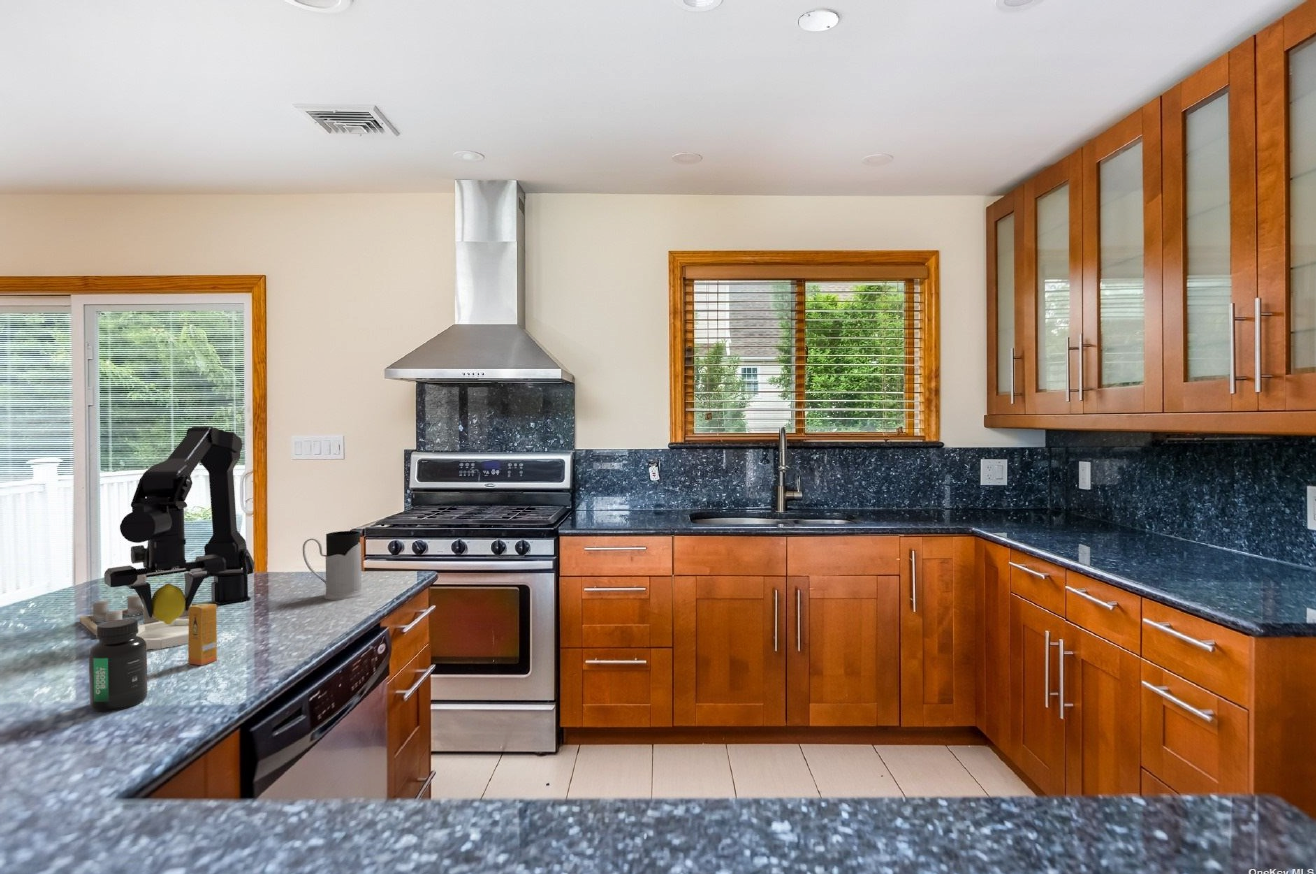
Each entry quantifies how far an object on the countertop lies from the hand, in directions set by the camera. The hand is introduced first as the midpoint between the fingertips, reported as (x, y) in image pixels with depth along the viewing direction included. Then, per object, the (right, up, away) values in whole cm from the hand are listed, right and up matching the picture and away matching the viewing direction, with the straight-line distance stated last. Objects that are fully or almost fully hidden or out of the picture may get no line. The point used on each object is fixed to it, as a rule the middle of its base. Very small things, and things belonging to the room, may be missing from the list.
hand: (168, 613), depth 136 cm
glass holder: (+16, -4, +34) cm, 38 cm away
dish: (0, -5, 0) cm, 5 cm away
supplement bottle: (+15, -6, -32) cm, 35 cm away
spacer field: (-14, -5, +13) cm, 19 cm away
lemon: (0, -2, 0) cm, 2 cm away
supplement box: (+16, -5, -14) cm, 22 cm away
